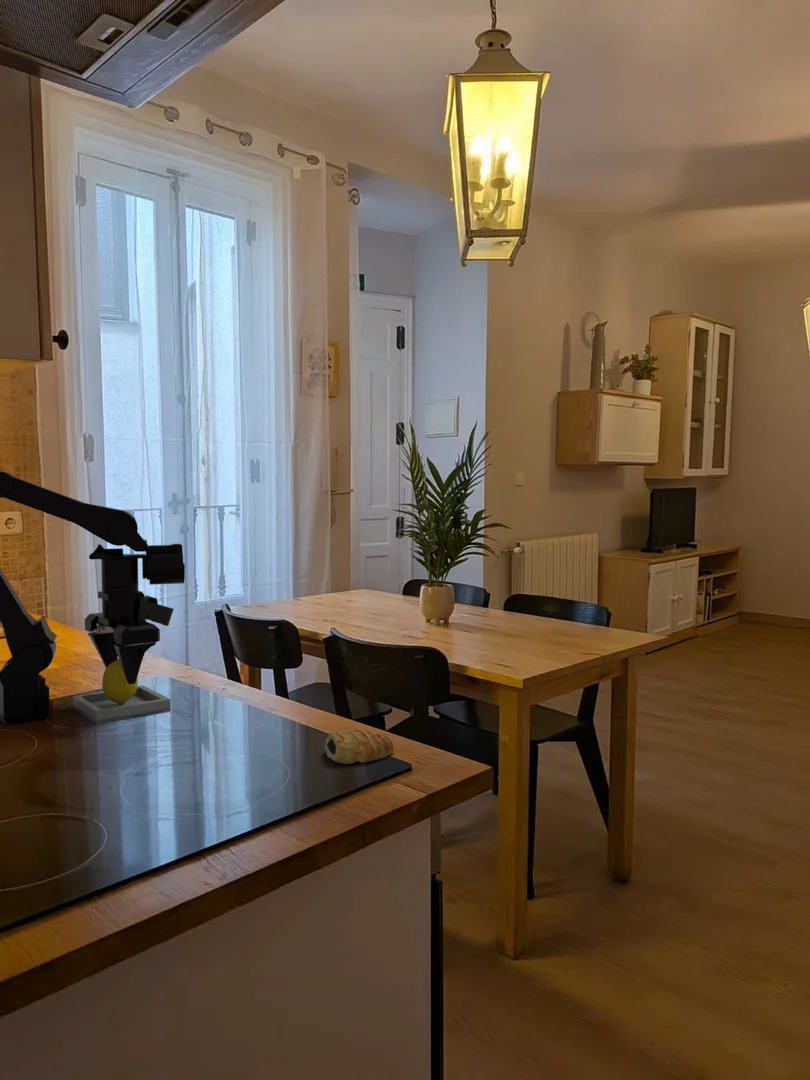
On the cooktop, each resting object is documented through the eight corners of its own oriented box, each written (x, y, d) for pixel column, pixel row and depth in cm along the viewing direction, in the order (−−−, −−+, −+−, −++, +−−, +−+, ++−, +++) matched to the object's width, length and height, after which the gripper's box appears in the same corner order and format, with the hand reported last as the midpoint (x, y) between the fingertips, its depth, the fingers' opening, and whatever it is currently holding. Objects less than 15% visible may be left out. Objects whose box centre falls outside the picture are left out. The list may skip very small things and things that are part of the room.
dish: (96, 724, 122) (96, 711, 121) (72, 707, 131) (72, 696, 131) (170, 711, 129) (170, 699, 129) (143, 696, 138) (142, 685, 138)
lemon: (127, 711, 127) (125, 663, 126) (96, 709, 128) (94, 662, 127) (144, 701, 132) (143, 655, 131) (115, 699, 133) (113, 654, 132)
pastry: (382, 745, 113) (382, 719, 113) (401, 760, 107) (402, 732, 107) (321, 753, 109) (321, 727, 109) (337, 769, 103) (337, 741, 103)
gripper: (190, 587, 127) (191, 682, 128) (146, 577, 141) (147, 662, 142) (121, 592, 120) (123, 692, 121) (82, 582, 134) (84, 671, 135)
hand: (121, 678), depth 130 cm, fingers open, 9 cm apart
